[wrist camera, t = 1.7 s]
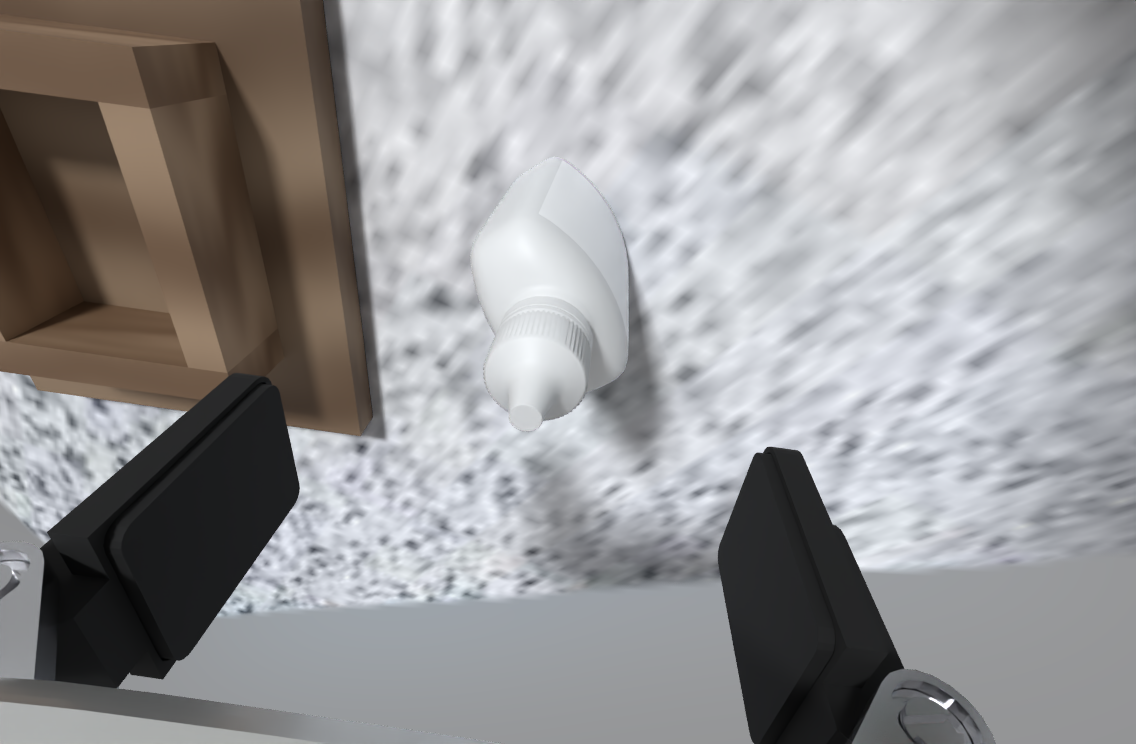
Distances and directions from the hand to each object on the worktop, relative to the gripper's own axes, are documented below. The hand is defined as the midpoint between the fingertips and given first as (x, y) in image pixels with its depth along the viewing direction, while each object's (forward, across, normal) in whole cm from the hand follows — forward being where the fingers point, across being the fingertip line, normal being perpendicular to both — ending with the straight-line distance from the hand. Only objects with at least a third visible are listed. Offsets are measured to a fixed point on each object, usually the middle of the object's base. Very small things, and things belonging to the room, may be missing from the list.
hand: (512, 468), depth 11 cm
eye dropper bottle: (+13, 0, -1) cm, 13 cm away
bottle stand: (+13, +17, 0) cm, 21 cm away
